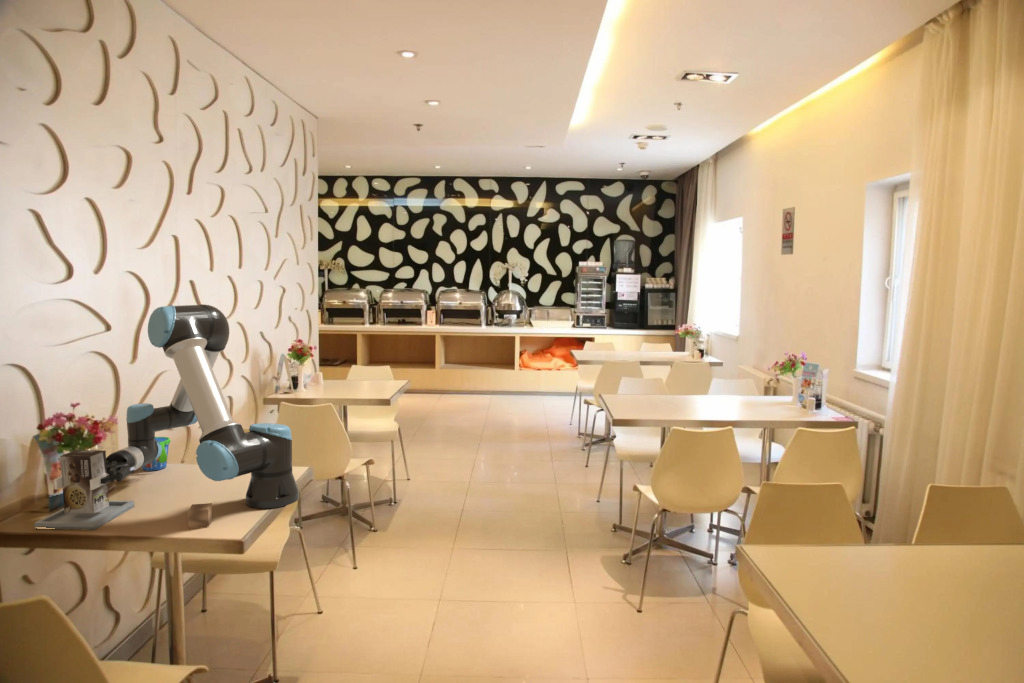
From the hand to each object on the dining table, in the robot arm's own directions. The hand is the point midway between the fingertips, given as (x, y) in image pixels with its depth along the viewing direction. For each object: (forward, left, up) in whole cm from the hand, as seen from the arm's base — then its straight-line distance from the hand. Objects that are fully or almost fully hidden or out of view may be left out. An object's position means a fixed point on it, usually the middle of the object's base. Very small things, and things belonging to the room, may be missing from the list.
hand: (73, 484), depth 181 cm
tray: (0, -5, -11) cm, 12 cm away
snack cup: (+8, -53, -11) cm, 54 cm away
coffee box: (0, -5, -9) cm, 10 cm away
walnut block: (-34, -1, -11) cm, 36 cm away
